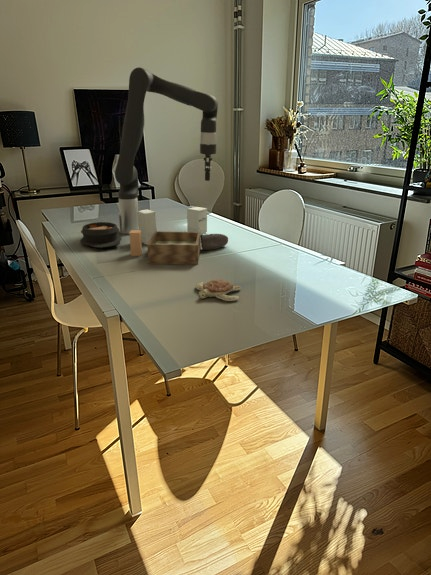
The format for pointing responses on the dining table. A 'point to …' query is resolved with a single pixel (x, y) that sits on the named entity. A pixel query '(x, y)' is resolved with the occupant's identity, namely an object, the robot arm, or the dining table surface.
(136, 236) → the terracotta peg
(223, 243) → the perforated stone tool
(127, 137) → the robot arm
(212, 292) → the decorative turtle
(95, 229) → the casserole
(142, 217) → the skincare box
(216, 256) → the dining table surface
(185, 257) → the walnut box
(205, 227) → the supplement box
